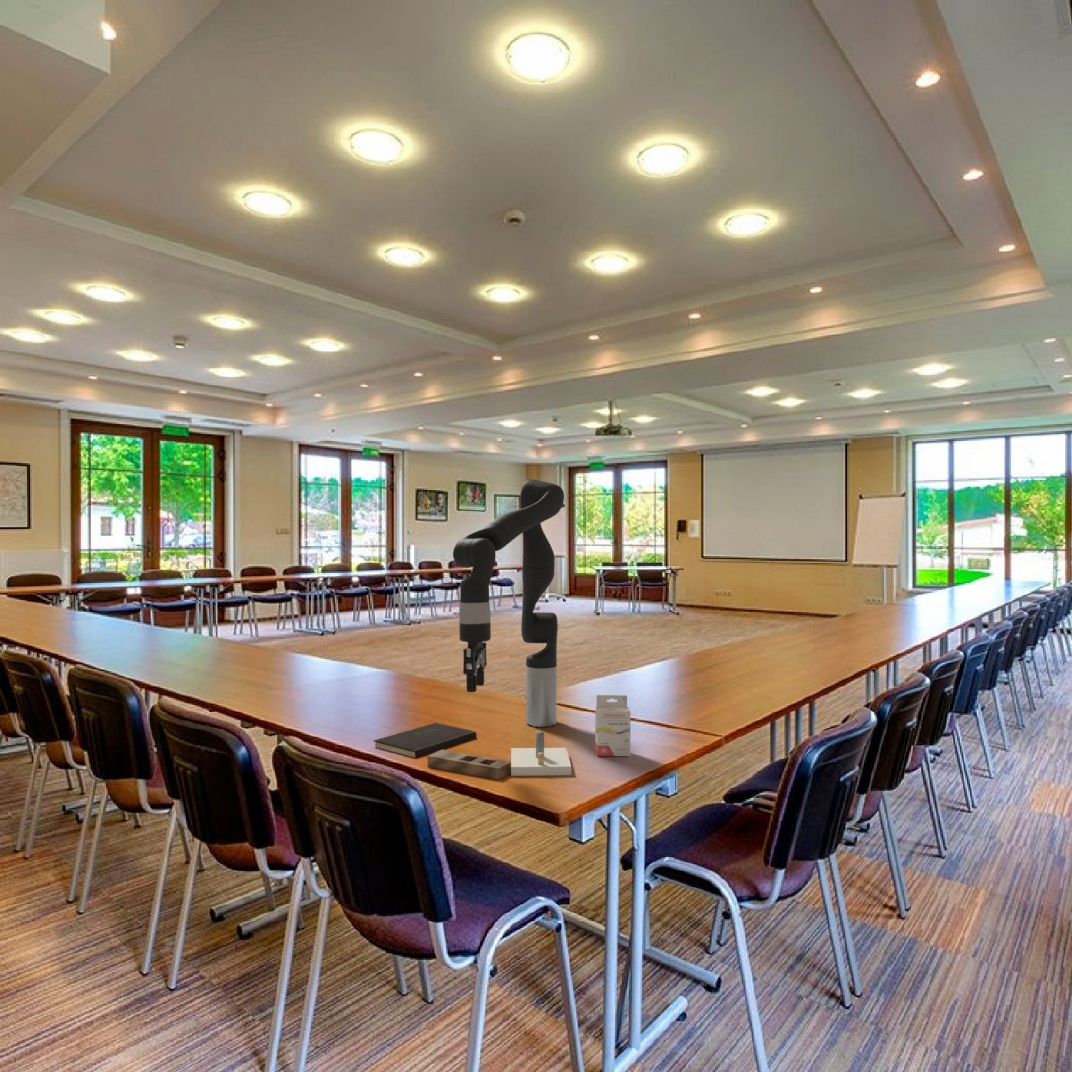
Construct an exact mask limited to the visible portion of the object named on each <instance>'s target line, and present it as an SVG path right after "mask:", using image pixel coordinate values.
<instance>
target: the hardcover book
mask: <svg viewBox="0 0 1072 1072" xmlns="http://www.w3.org/2000/svg"><path fill="white" fill-rule="evenodd" d="M474 738H475V739H477V732H476V731H475V730H469V729H467V728H461V727H457V726H453V725H448V724H443V723H439V722H434V723H430V724H426V725H423V726H420V727H419V726H418V727H415V728H413V729H410V730H405V731H402V732H399V733H395V734H391V735H388V736H385V737H381V738H377V739H375V740H373V742H374V746H375V748H377V749H381V750H386V751H388V752H392V753H397V754H399V755H402V756H403V755H404V756H406V757H410V758H415V759H417V758H421V757H423V756H428V755H431V754H433V753H435V752H437V751H440V750H446V749H447V748H451V747H454V746H456V745H457V746H458V745H459V744H460V745H461V744H463V743H466V742H468V741H469V742H470V741H471V739H472V740H475V739H474Z"/></svg>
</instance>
